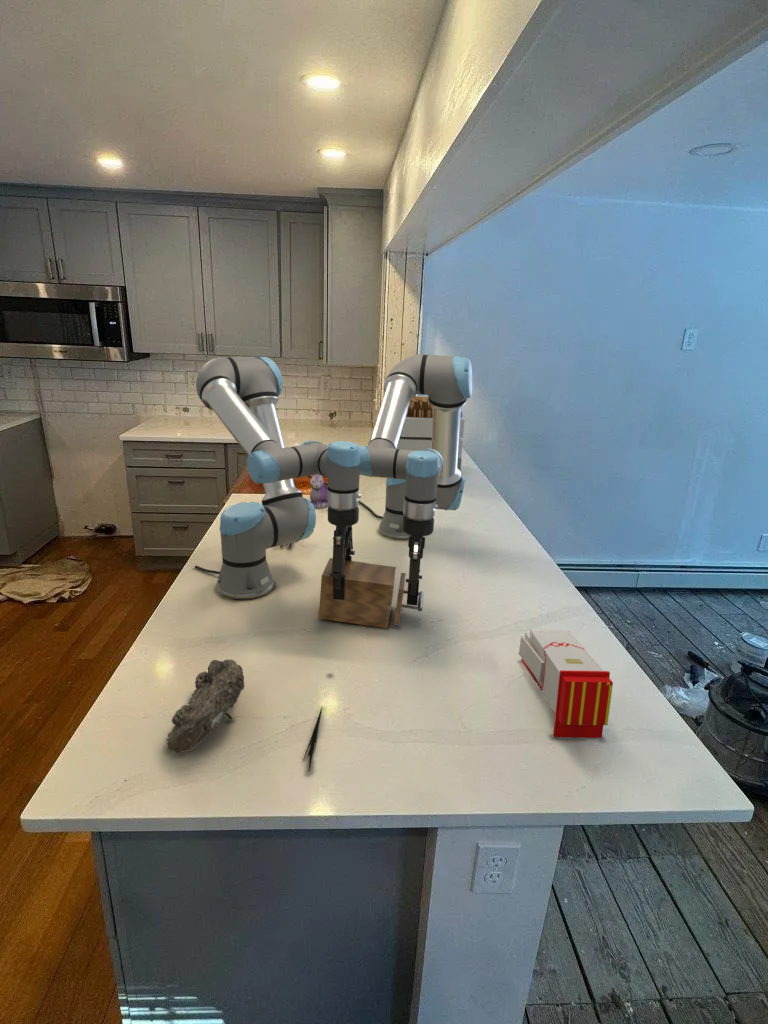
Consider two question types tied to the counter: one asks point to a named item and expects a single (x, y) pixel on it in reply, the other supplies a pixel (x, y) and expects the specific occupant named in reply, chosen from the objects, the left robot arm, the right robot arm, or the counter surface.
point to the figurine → (318, 492)
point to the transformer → (422, 428)
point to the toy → (568, 682)
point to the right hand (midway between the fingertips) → (412, 603)
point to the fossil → (206, 705)
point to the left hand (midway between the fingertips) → (342, 588)
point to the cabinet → (359, 594)
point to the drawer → (400, 597)
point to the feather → (313, 740)
